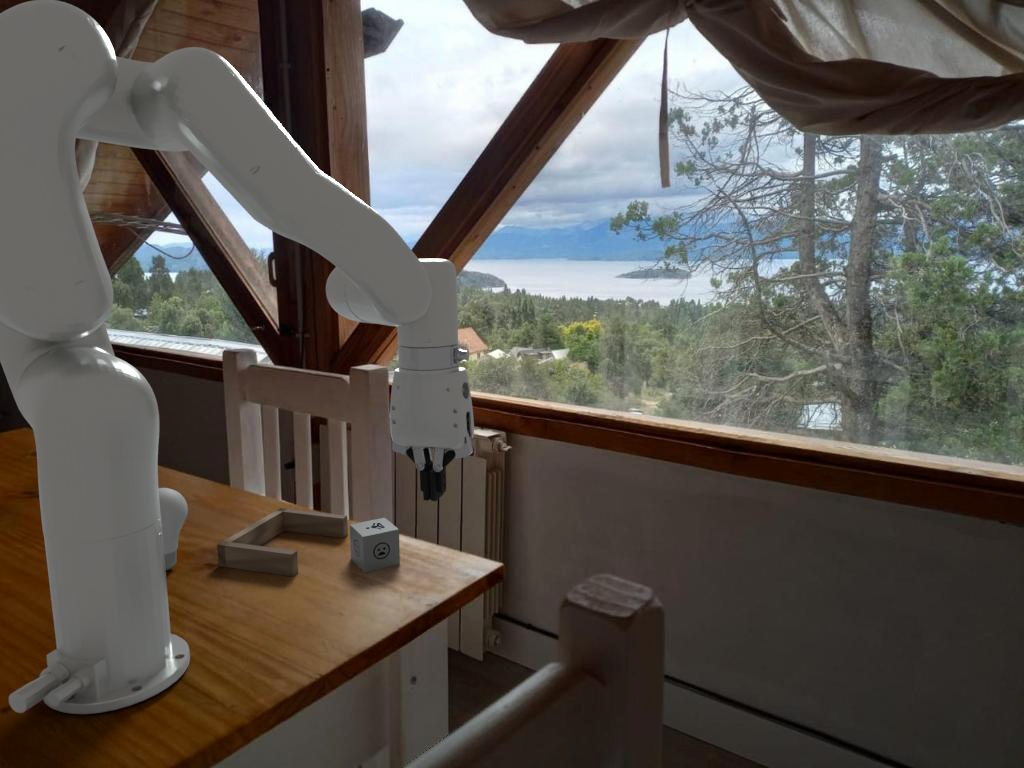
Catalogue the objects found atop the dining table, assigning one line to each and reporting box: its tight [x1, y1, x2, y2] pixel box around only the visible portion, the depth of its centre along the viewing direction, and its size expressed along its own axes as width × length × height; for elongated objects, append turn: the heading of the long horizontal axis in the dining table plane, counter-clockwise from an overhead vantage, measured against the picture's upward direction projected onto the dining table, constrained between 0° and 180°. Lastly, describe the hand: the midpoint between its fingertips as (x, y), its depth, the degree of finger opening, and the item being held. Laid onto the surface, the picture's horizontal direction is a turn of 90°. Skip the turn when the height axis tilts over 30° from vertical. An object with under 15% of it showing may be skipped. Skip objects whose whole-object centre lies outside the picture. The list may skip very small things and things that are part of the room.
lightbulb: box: [158, 487, 189, 571], centre depth 91 cm, size 6×6×11 cm
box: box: [216, 507, 349, 577], centre depth 98 cm, size 14×11×3 cm
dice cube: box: [349, 517, 401, 573], centre depth 94 cm, size 5×5×5 cm
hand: (433, 497), depth 91 cm, fingers closed
